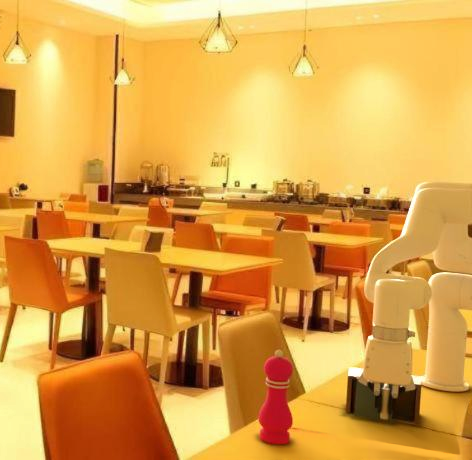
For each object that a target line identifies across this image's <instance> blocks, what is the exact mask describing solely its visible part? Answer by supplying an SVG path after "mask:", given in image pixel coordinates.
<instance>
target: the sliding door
mask: <svg viewBox="0 0 472 460" xmlns="http://www.w3.org/2000/svg"><path fill="white" fill-rule="evenodd" d="M358 379H359V377H357V384H356V400H355V414H354V416H356V417H363V418H369V419H375V420H381V421H382V420H383V421H389V422H392V421H393V420H392V415H389V414H388V410H389V396H390V395H391V392H392V388H393V384H387V383H380V391H381V394H382V401H381V413H377V410H378V408H374V405H375V394H374V393H373V392H372V390H371V389H370V388H369V387H368V386H366V385H364V384H362V383H360V382H359V381H358ZM372 382H373V381H372ZM373 383H374V382H373ZM392 412H393V410H392Z"/></svg>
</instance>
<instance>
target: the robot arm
mask: <svg viewBox="0 0 472 460" xmlns="http://www.w3.org/2000/svg"><path fill="white" fill-rule="evenodd" d="M469 225H472V183H471V182H470V183H469V182H468V183H466V182H447V181H446V182H445V181H426V182H422V183H420V184H418V185H417V186H416V188H415V191H414V196H413V197H412V200H411V202H410V206H409V209H408V213H407V215H406V218H405V222H404V225H403V226H402V227H403V228H402V231H401V234H400V236H398V237H397V238H396V239H394V240H391V242H389V243H388V244H386V245H385V246H384V247H383V248H382V249H380V250H379V251H378V252H377V253H376V254H375V255H374V257H373V258H372V260H371V263H370V265H369V267H368V270H367V271H368V272H367V274H366V277H365V281H364V285H363V293H364V297H365V299H366V300H367V301H368V302H369V303H372V304H373V311H372V312H373V313H372V325H371V326H372V327H371V335H368V337H367V340H366V345H365V350H364V356H363V365H362V366H363V367H362V369H363V371H362V373H361V375H360V377H359V379H358V381H359V382H360V383H362V384H364V385H366V386H368V387H369V388H370V389H371V390H372V392H373V393H374V394H375V405H374V408H378V410H377V413H381V401H382V394H381V391H380V383H387V384H393V388H392V392H391V395H390V396H389V410H388V414H389V415H392V410H393V411H395V407H396V398H397V397H398V396H399V395H400V394H402V393H403V392H405V391H410V390H414V389H415V384H414V381H413V378H412V375H413V345H412V340H410V338H416V330H412V329H410V328H409V326H410V315H411V313H410V312H411V310H420V309H423V308H425V307H426V306H427V305H428V308H429V309H428V310H429V311H428V316H429V317H428V329H427V330H428V331H427V344H426V355H425V356H426V358H425V359H426V360H425V373H424V375H420V376H421V385H422V386H424V387H426V388H430V389H433V390H438V391H444V392H453V393H454V392H456V393H457V392H458V393H459V392H460V393H461V392H467V391H469V390H470V384H469V382H467V381H465V380H464V378H465V365H466V352H467V351H466V350H467V337H468V323H467V320H466V318H465V317H464V315H463V314H462V312H461V311H460V310H465V311H472V237H471V236H469ZM430 254H432V258H433V263H434V266H435V267H436V268H437V269H439V270H442V271H446V272H438V273H435V274H433V275H431V277H430V278H429V280H428V281H427V280H426V279H424V278H423V277H420V276H419V277H418V276H411V275H404V274H397V273H396V274H395V273H387V272H388V271H389V270H390V269H391V268H392V267H394V266H396V265H398V264H400V263H402V262H406V261H411V260H413V259H417V258H421V257H424V256H427V255H430ZM372 381H373V382H374V383H373V382H372ZM399 385H401V386H399Z"/></svg>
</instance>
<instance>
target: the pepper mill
mask: <svg viewBox="0 0 472 460" xmlns="http://www.w3.org/2000/svg"><path fill="white" fill-rule="evenodd" d="M283 356H284V352H283V350H281V349H277V350H276V351H275V352H274V356H270V357H269V358H268V359H267V360H266V361H265V363H264V365H263V371H264V374H265V375H266V376H267V377H266V378H265V385H266V386H267V393H266V398H265V401H264V403H263V405H262V406H261V408H260V410H259V412H258V420H257V421H258V423H259V425H260V426H261V428H260V430H259V438H260V440H261V441H263V442H264V443H268V444H272V445H285V444H288V443H289V442H290V439H291V438H290V436H291V433H290V432H289V430H290V429H291V428H292V427H293V424H294V422H293V415H292V411H291V408H290V406H289V403H288V400H287V393H288V389H289V388H290V379H289V378H290V377H291V376H292V375H293V373H294V370H293V369H294V368H293V363H292V362H291V361H290V360H289V359H288V358H286V357H283Z"/></svg>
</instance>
